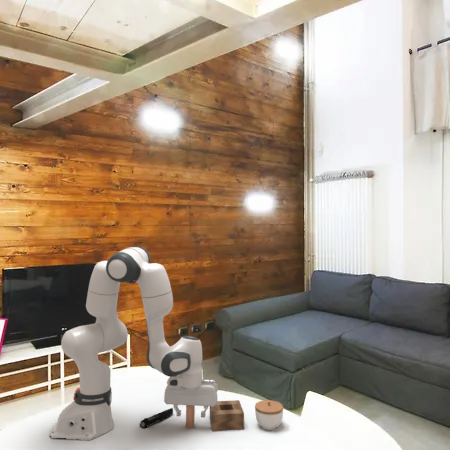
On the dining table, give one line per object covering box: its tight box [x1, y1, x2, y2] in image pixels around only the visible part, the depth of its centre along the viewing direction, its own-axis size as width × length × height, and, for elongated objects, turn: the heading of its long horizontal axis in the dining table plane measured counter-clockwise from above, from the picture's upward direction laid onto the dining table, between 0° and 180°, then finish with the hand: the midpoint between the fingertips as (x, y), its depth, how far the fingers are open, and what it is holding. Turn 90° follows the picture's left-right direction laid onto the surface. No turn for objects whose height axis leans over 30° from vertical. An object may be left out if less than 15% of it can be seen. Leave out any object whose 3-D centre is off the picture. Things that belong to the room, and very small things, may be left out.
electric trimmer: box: [138, 407, 174, 430], centre depth 153 cm, size 4×16×3 cm, turn 140°
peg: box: [185, 405, 196, 430], centre depth 149 cm, size 3×3×10 cm
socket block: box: [209, 400, 245, 432], centre depth 152 cm, size 12×12×6 cm
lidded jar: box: [254, 399, 284, 431], centre depth 149 cm, size 11×11×9 cm
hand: (190, 416), depth 148 cm, fingers open, 8 cm apart
